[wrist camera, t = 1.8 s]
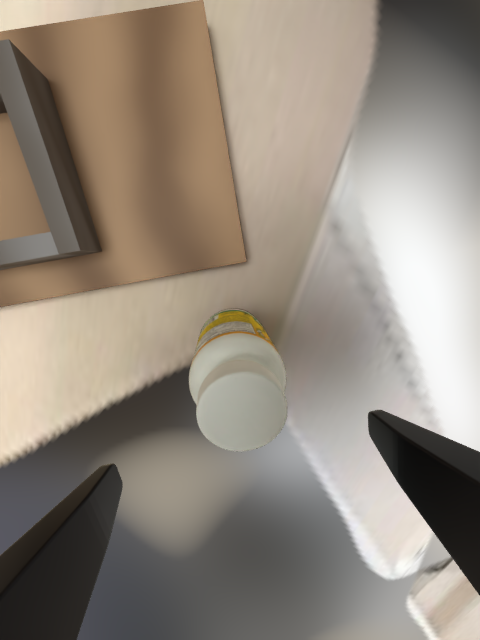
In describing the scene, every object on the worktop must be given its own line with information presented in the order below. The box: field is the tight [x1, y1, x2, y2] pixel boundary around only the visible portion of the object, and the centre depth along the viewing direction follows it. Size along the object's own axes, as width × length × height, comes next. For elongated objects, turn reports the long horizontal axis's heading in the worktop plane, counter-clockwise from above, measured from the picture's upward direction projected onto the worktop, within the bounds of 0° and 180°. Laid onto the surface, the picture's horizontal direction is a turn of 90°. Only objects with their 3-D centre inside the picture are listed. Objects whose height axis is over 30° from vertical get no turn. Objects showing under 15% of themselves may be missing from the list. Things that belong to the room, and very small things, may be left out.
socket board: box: [0, 0, 246, 307], centre depth 14 cm, size 20×14×4 cm
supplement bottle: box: [189, 309, 287, 451], centre depth 15 cm, size 5×5×10 cm
